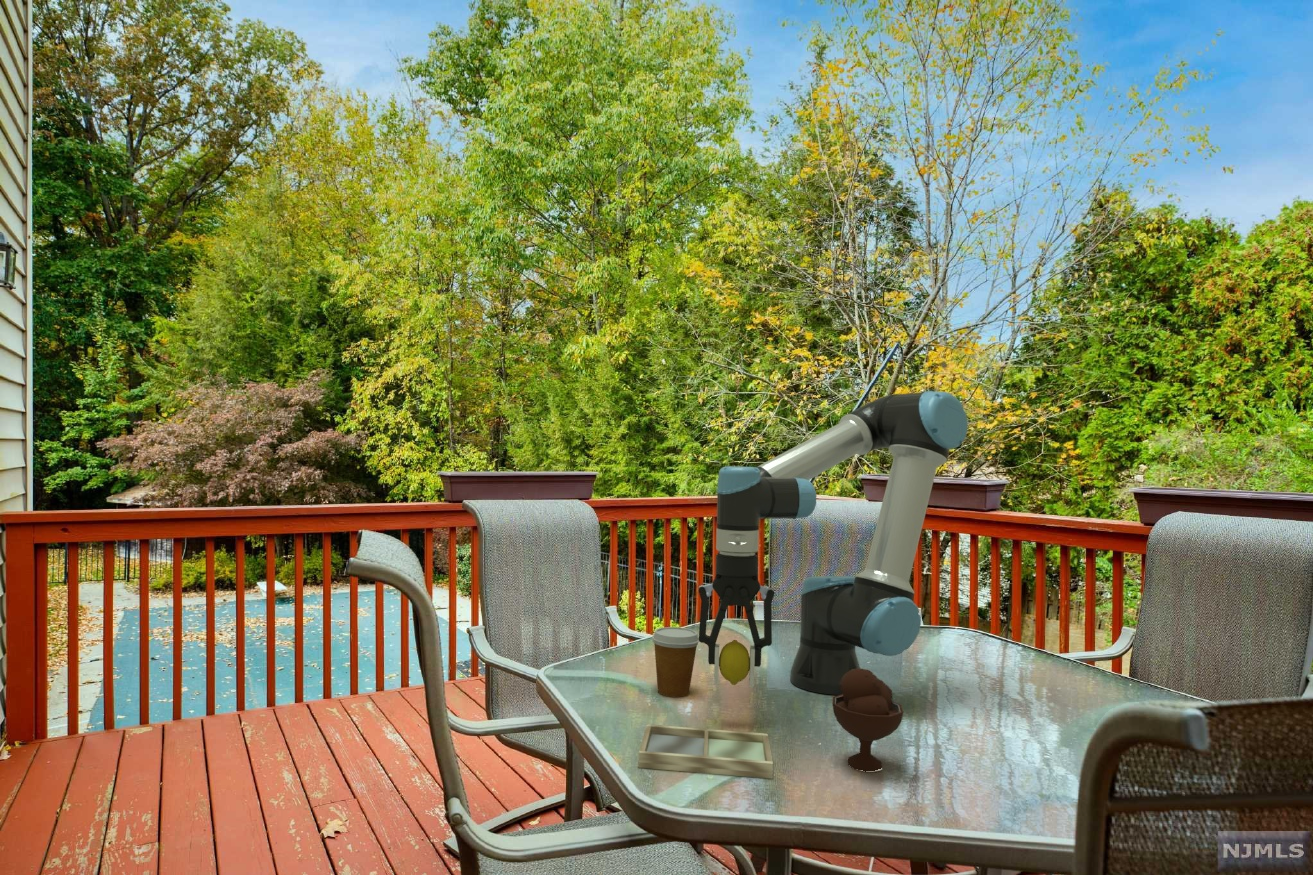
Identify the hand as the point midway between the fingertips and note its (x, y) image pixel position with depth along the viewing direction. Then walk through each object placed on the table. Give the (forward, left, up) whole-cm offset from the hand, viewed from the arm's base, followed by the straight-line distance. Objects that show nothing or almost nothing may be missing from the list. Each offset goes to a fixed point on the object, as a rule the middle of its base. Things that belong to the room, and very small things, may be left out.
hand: (733, 683), depth 130 cm
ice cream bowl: (-21, +13, -8) cm, 26 cm away
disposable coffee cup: (+11, -16, -8) cm, 21 cm away
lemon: (0, 0, -1) cm, 1 cm away
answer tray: (+4, +15, -7) cm, 18 cm away
